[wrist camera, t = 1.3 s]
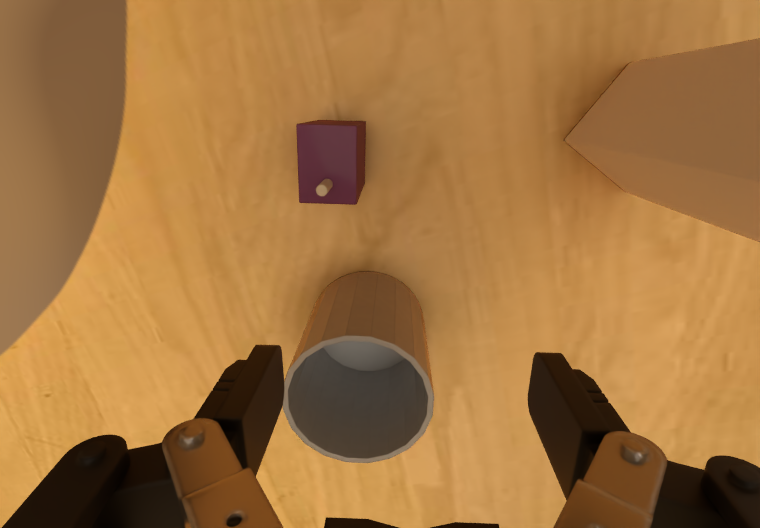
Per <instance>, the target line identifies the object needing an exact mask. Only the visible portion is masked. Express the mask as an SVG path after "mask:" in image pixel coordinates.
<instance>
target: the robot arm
mask: <svg viewBox="0 0 760 528" xmlns="http://www.w3.org/2000/svg"><path fill="white" fill-rule="evenodd" d="M284 391H285V387H284V374H283V362H282V350H281V347H280V346H279V345H256V346H255V347H254V348H253V350H252V352H251V354H250V355H249V357H248V359H247V360H237V361H236V362H235V363H233V364H232V365H231V366H229V367H228V368H226V369H225V371H224V372H223V374H222V376H221V377H220V379H219V382H217V383H216V385H215V386H214V388H213V391H211V393H210V394H209V396H208V397H207V399H206V400H205V402H204V403H203V405H202V407H201V408H200V410H199V411H198V413H197V414H196V416H195V417H194V419H192V420H189V421H185V422H183V423H181V424H179V425H177V426H175V427H174V428H172V429H171V430H170V431H169V432H168V433H167V434H166V435H165V437H164V439H163V441H162V443H158V444H154V445H149V446H144V447H139V448H134V449H129V450H128V449H127V444H126V441H125V440H124V439H123V438H122V437H120V436H117V435H102V436H97V437H93V438H91V439H88V440H86V441H83V442H81V443H80V444H78V445H76V446H75V447H73V448H72V449H70V450H69V451H68V452H67V453H66V454H65V455H64V456H63V457H62V458H61V460H60V461H59V462H58V463H57V464H56V465H55V466H54V468H53V469H52V470H51V471H50V472H49V473H48V475H47V476H46V477H45V478H44V479H43V480H42V482H41V483H40V484H39V485H38V486H37V487H36V489H35V490H34V491H33V492H32V493H31V494H30V495H29V497H28V498H27V499H26V500H25V501H24V502H23V504H22V505H21V506H20V507H19V508H18V509H17V511H16V512H15V513H14V514H13V515H12V516H11V518H10V519H9V520H8V521H7V522H6V523H5V524H4V526H3V527H2V528H283V526H282V524H281V522H280V521H279V519H278V517H277V515H276V513H275V511H274V510H273V508H272V506H271V504H270V502H269V500H268V499H267V497H266V495H265V493H264V491H263V490H262V488H261V486H260V484H259V482H258V480H257V479H256V474H257V472H258V469H259V467H260V464H261V461H262V459H263V456H264V453H265V451H266V448H267V445H268V443H269V440H270V438H271V435H272V432H273V430H274V427H275V424H276V422H277V419H278V416H279V414H280V411H281V408H282V405H283V401H284ZM528 407H529V412H530V415H531V418H532V420H533V423H534V425H535V427H536V430H537V432H538V434H539V437H540V439H541V441H542V444H543V446H544V448H545V451H546V453H547V456H548V458H549V460H550V463H551V465H552V467H553V470H554V472H555V474H556V477H557V479H558V481H559V484H560V486H561V488H562V491H563V493H564V495H565V498H566V500H567V502H566V504H565V506H564V508H563V510H562V512H561V514H560V515H559V517H558V519H557V521H556V523H555V525H554V527H553V528H760V468H759V467H757V466H756V465H753V464H751V463H749V462H747V461H744V460H742V459H738V458H735V457H731V456H714V457H711V458H710V459H709V460H708V461H707V464H706V467H705V470H702V469H698V468H694V467H690V466H686V465H682V464H678V463H675V462H671V461H668V460H667V458H666V456H665V454H664V453H663V451H662V450H661V449H660V448H659V447H658V446H657V445H656V444H654V443H653V442H651V441H650V440H648V439H646V438H644V437H642V436H640V435H637V434H634V433H631V432H630V430H629V429H628V428H627V426H626V425H625V423H624V422H623V421H622V419H621V418H620V416H619V415H618V414H617V412H616V411H615V409H614V408H613V406H612V405H611V404H610V403H608V399H607V398H606V397H605V395H604V394H603V393H602V391H601V390H600V388H599V387H598V385H597V384H596V382H595V381H594V380H593V379H592V378H591V377H589V376H588V375H586V374H585V373H584V372H582V371H581V370H578V369H572V368H571V366H570V365H569V363H568V362H567V360H566V359H565V357H564V356H563V355H562V354H561V353H540V352H537V353H535V355H534V358H533V364H532V370H531V377H530V384H529V391H528ZM324 528H398V527H394V526H391V525H387V524H384V523H380V522H377V521H373V520H369V519H352V518H326V520H325V526H324ZM431 528H499V524H485V523H458V522H455V523H450V524H446V525H441V526H436V527H431Z"/></svg>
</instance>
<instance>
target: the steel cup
mask: <svg viewBox="0 0 760 528" xmlns="http://www.w3.org/2000/svg"><path fill="white" fill-rule="evenodd" d="M284 387H285V391H284V401H283V410H284V413H285V415H286V417H287V420H288V422H289V424H290V426H291V428H292V430H293V431H294V432H295V433H296V434H297V435H298V436H299V437H300V438H301V440H302V441H303V442H304V443H305V444H306V445H308V446H310V447H311V448H313V449H314V450H316V451H318V452H319V453H321V454H323V455H325V456H327V457H331V458H334V459H337V460H341V461H344V462H355V463H371V462H376V461H381V460H386V459H390V458H392V457H394V456H396V455H398V454H400V453H402V452H404V451H406V450H408V449H409V448H410V447H411V446H412V445H413V444H414V443H415V442H416V441H417V440H418V439H419V438H420V437H421V436H422V435H423V434H424V433H425V431H426V428H427V426H428V424H429V422H430V420H431V418H432V415H433V404H434V391H433V384H432V376H431V369H430V361H429V353H428V346H427V338H426V330H425V323H424V318H423V314H422V310H421V306H420V304H419V302H418V300H417V298H416V297H415V295H414V294H413V293H412V292H411V290H410V289H409V288H408V287H407V286H405V285H404V284H403V283H402V282H400V281H399V280H397V279H395V278H393V277H391V276H388V275H386V274H382V273H378V272H369V271H368V272H356V273H351V274H348V275H345V276H343V277H340V278H339V279H337V280H335V281H334V282H332V283H331V284H330V285H329V286H328V287H327V288H326V289H325V290H324V291H323V292H322V294H321V295H320V296H319V298H318V300H317V301H316V304H315V306H314V308H313V311H312V313H311V316H310V318H309V321H308V323H307V325H306V328H305V330H304V333H303V335H302V338H301V340H300V343H299V345H298V347H297V350H296V352H295V355H294V357H293V360H292V362H291V365H290V367H289V369H288V372H287V375H286V378H285V381H284Z"/></svg>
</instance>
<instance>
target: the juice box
mask: <svg viewBox="0 0 760 528" xmlns="http://www.w3.org/2000/svg"><path fill="white" fill-rule="evenodd" d="M365 135H366V122H365V121H334V120H317V121H311V122H305V123H300V124H297V152H298V180H299V202H300V203H323V204H354V205H356V204H357V201H358V199H359V196H360V194H361V191H362V189H363V187H364V184H365Z"/></svg>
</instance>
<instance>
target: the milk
mask: <svg viewBox="0 0 760 528" xmlns="http://www.w3.org/2000/svg"><path fill="white" fill-rule="evenodd" d="M564 141H565V142H566V143H568V144H569V145H570V146H571V147H572V148H573V149H575V150H576V151H577V152H578V153H579V154H581V155H582V156H583V157H584V158H585V159H587V160H588V161H589V162H590V163H591V164H593V165H594V166H595V167H596V168H597V169H599V170H600V171H601V172H602V173H603V174H605V175H606V176H607V177H608V178H609V179H611V180H612V181H613V182H614V183H615V184H617V185H618V186H619V187H620V188H621V189H623V190H624V191H625V192H627V193H629V194H632V195H635V196H637V197H640V198H643V199H645V200H648V201H651V202H653V203H656V204H659V205H662V206H664V207H667V208H670V209H672V210H675V211H678V212H680V213H683V214H686V215H688V216H691V217H694V218H696V219H699V220H702V221H704V222H707V223H710V224H712V225H715V226H718V227H720V228H723V229H726V230H728V231H731V232H734V233H736V234H739V235H742V236H744V237H747V238H750V239H752V240H755V241H758V242H760V38H759V39H754V40H748V41H743V42H737V43H732V44H727V45H721V46H716V47H710V48H705V49H700V50H694V51H689V52H684V53H678V54H673V55H667V56H662V57H657V58H651V59H646V60H640V61H635V62H631V63H629V64H628V65H627V66H626V68H625V69H624V70H623V71H622V72H621V73H620V75H619V76H618V77H617V78H616V79H615V80H614V82H613V83H612V84H611V85H610V86H609V88H608V89H607V90H606V91H605V92H604V93H603V95H602V96H601V97H600V98H599V99H598V100H597V102H596V103H595V104H594V105H593V106H592V107H591V109H590V110H589V111H588V112H587V113H586V115H585V116H584V117H583V118H582V119H581V120H580V122H579V123H578V124H577V125H576V126H575V127H574V129H573V130H572V131H571V132H570V133H569V135H568V136H567V137H566V138H565V140H564Z"/></svg>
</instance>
